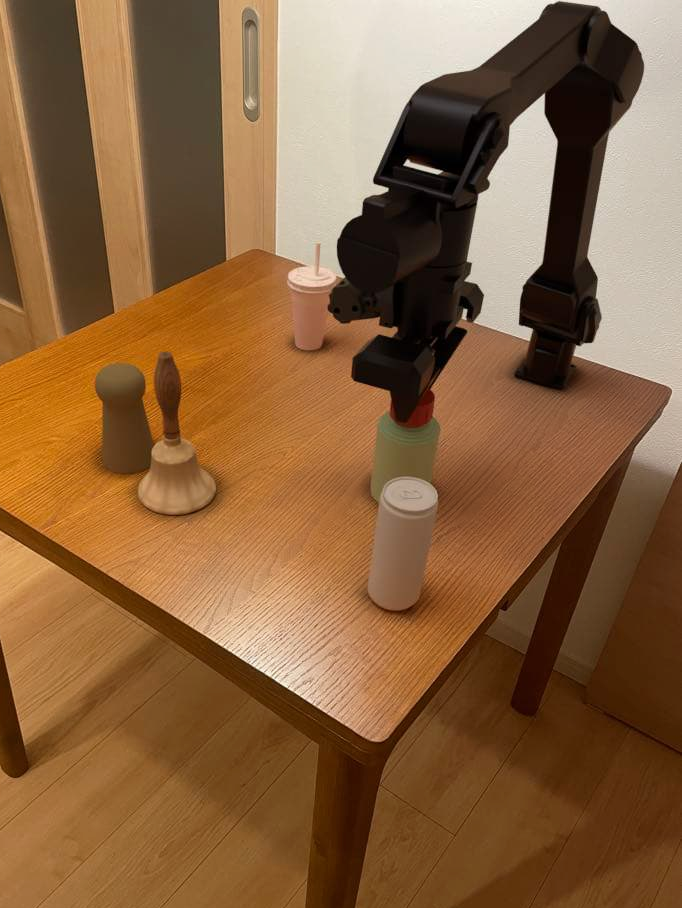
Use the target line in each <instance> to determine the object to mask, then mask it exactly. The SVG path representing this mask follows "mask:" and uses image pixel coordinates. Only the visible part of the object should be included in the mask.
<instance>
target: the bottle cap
mask: <svg viewBox="0 0 682 908" xmlns="http://www.w3.org/2000/svg"><path fill="white" fill-rule="evenodd" d="M435 400H436V396H435V393H434V392H433V390H431V389H429V388H428V390H427V391H426V393H425V395H424V396H423V398H422V399H421V401H420V403H419V404H418V406H417V407H416V409H415V411H414V412H413V414H412V415H411V417H410V419H409V420H408V422H407V423H402V422H399V421H397V420H396V418H395V414H394V409H393V404H392V400H390V407H389V411H390V416H391V418H392V419H393V420H394V421H395V422H396V423H398V424H400V425H403V426H408V427H419V426H423V425H425V424H427V423H428V422H429V421H430V420H431V419H432V416H433V413H434V407H435Z"/></svg>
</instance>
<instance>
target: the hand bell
mask: <svg viewBox="0 0 682 908" xmlns="http://www.w3.org/2000/svg"><path fill="white" fill-rule="evenodd" d="M153 389H154V394H155V398H156V401H157V403H158V405H159V406H158V407H159V408H160V411H161V415H162V416H161V417H162V429H163V430H162V435H163V439H161V440H159V441H158V442H157V443H154V447H153V449H152V458H151V466H150V467H149V471H148V473H147V474H146V475H144V476H143V478H142V479H141V480H140V482H139V485H138V487H137V497H138V499H139V501H140V503H141V505H143V506H144V507H145V508H147V509H148V510H150V511H152V512H155V513H157V514H161V515H167V516H180V515H181V516H182V515H186V514H190V513H193V512H196V511H199V510H201V509H203V508H205V507H206V506H207V505H208V504H210V503H212V500H213V499H214V497H215V496H216V493H217V484H216V482H215V479H214V478H213V476H212V474H210V473H208V471H206V470H205V469H204V468H202V467H201V465H200V463H199V460H198V457H197V453H196V448H195V446H194V444H193V443H192V442H191V441H189V440H188V439H185V438H181V429H180V422H179V420H180V419H179V408H180V404H181V400H182V399H181V398H182V380H181V374H180V372H179V369H178V366H177V364H176V362H175V360H174V357H173V353H172V352H171V351H165V350H164V351H160V352H159V353H158V354H157V361H156V365H155V369H154V373H153Z"/></svg>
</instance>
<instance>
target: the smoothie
mask: <svg viewBox="0 0 682 908" xmlns="http://www.w3.org/2000/svg"><path fill="white" fill-rule="evenodd" d="M314 256H315V257H314V266H313V265H311V266H310V265H309V266H300V267H296V268H294V269H292V270H290V271H289V272H288V274H287V281H286V283H287V286H288V287H289V291H290V301H291V303H290V304H291V313H292V324H293V334H294V346H296V348H298V349H300V350H303V351H316V350H319V349H321V348H322V347H323V341H324V336H325V332H326V327H327V321H328V317H329V313H330V312H329V311H328V309H327V307H328V305H329V303H330V299H329V294H330V293H331V292H332V291H331V290H332V288H333V287H334V286H336V285H337V275H336V273H335V272H333V271H332V270H330V269H328V268H326V267H321V266H320V259H321V258H320V257H321V242H320V241H317V242H315V254H314Z"/></svg>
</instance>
